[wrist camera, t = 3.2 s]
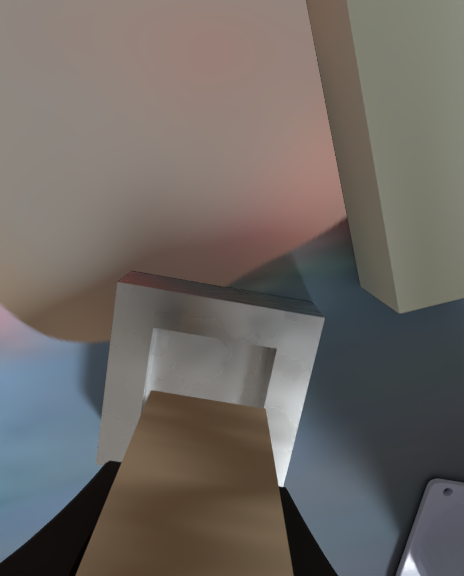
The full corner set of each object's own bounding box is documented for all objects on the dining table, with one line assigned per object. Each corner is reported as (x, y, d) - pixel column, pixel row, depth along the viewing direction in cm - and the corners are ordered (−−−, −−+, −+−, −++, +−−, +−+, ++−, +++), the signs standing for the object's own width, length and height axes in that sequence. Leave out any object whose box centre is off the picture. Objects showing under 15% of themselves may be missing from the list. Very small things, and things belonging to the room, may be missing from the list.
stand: (313, 302, 19) (324, 318, 17) (275, 458, 21) (281, 492, 19) (131, 270, 19) (117, 281, 16) (111, 433, 21) (96, 464, 18)
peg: (265, 408, 13) (314, 700, 6) (244, 504, 14) (260, 869, 7) (150, 390, 13) (39, 664, 6) (136, 488, 14) (22, 844, 6)
